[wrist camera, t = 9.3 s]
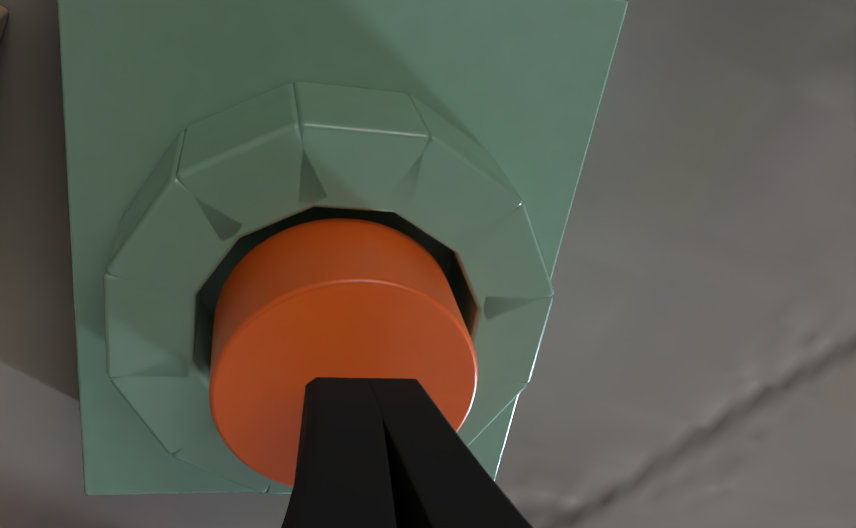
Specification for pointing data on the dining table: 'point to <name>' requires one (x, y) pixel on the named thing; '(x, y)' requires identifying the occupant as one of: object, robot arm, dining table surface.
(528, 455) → the dining table surface
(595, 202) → the dining table surface
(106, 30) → the button box
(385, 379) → the robot arm
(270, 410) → the button
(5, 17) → the wooden stand
